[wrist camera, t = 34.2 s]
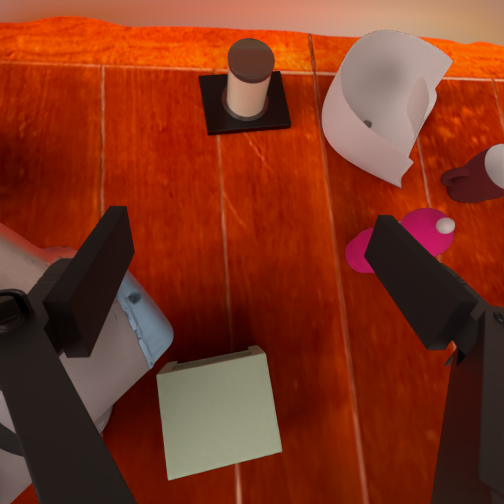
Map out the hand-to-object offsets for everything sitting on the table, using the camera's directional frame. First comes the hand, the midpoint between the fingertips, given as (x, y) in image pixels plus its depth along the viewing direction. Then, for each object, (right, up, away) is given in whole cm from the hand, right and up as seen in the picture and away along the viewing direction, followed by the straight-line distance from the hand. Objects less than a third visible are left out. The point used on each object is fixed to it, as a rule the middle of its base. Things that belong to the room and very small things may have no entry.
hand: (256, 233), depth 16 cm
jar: (-1, +26, +37) cm, 45 cm away
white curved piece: (+21, +22, +40) cm, 50 cm away
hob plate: (-2, +26, +38) cm, 46 cm away
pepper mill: (+19, -2, +35) cm, 40 cm away
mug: (+37, +10, +40) cm, 56 cm away
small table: (-5, -22, +29) cm, 37 cm away
